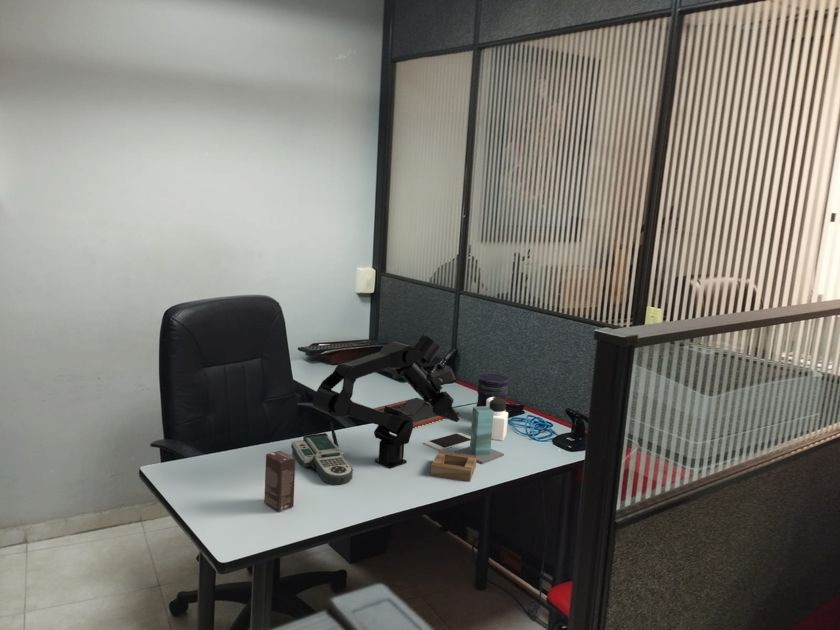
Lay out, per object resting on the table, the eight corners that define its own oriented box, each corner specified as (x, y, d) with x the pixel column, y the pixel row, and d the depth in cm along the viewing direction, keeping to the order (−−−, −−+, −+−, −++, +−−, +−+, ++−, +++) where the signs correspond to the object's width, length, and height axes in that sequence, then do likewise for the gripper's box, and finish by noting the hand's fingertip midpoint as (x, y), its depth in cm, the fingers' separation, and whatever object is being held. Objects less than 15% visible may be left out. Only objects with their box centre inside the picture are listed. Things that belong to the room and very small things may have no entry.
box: (294, 507, 156) (296, 457, 154) (278, 512, 153) (279, 462, 151) (279, 498, 160) (280, 449, 158) (263, 503, 157) (264, 454, 155)
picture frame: (416, 402, 243) (364, 415, 225) (417, 396, 242) (364, 409, 225) (459, 417, 229) (406, 432, 211) (459, 411, 229) (406, 426, 211)
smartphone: (423, 444, 201) (423, 441, 201) (459, 434, 211) (459, 431, 211) (439, 452, 196) (440, 449, 196) (476, 441, 206) (476, 438, 206)
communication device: (316, 491, 166) (317, 457, 165) (288, 455, 187) (289, 424, 185) (361, 484, 172) (363, 451, 170) (330, 449, 193) (331, 420, 191)
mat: (482, 464, 188) (482, 462, 188) (454, 453, 195) (455, 451, 194) (503, 455, 195) (504, 453, 195) (476, 445, 202) (476, 443, 202)
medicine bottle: (506, 433, 214) (509, 397, 212) (503, 441, 207) (506, 403, 205) (484, 430, 215) (487, 394, 213) (480, 437, 209) (483, 400, 207)
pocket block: (470, 481, 176) (470, 470, 175) (430, 475, 178) (431, 464, 178) (475, 466, 186) (476, 456, 185) (438, 461, 188) (439, 450, 188)
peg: (490, 454, 193) (493, 411, 191) (475, 455, 192) (478, 411, 190) (484, 449, 198) (487, 406, 195) (469, 449, 196) (472, 406, 194)
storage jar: (510, 421, 225) (514, 378, 223) (495, 428, 218) (499, 383, 215) (484, 414, 231) (488, 372, 229) (469, 421, 223) (472, 377, 221)
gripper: (448, 366, 178) (484, 406, 182) (430, 349, 195) (463, 386, 200) (417, 395, 177) (454, 434, 182) (401, 376, 195) (436, 412, 200)
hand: (453, 415), depth 191 cm, fingers open, 9 cm apart
